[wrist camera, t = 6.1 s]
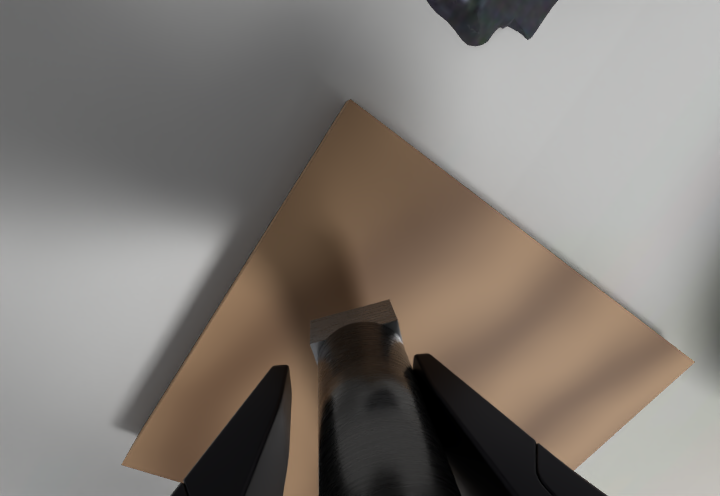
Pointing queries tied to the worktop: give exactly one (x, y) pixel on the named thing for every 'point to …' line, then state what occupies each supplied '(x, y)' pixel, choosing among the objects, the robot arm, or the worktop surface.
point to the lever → (373, 411)
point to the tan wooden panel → (409, 311)
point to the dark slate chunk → (491, 16)
